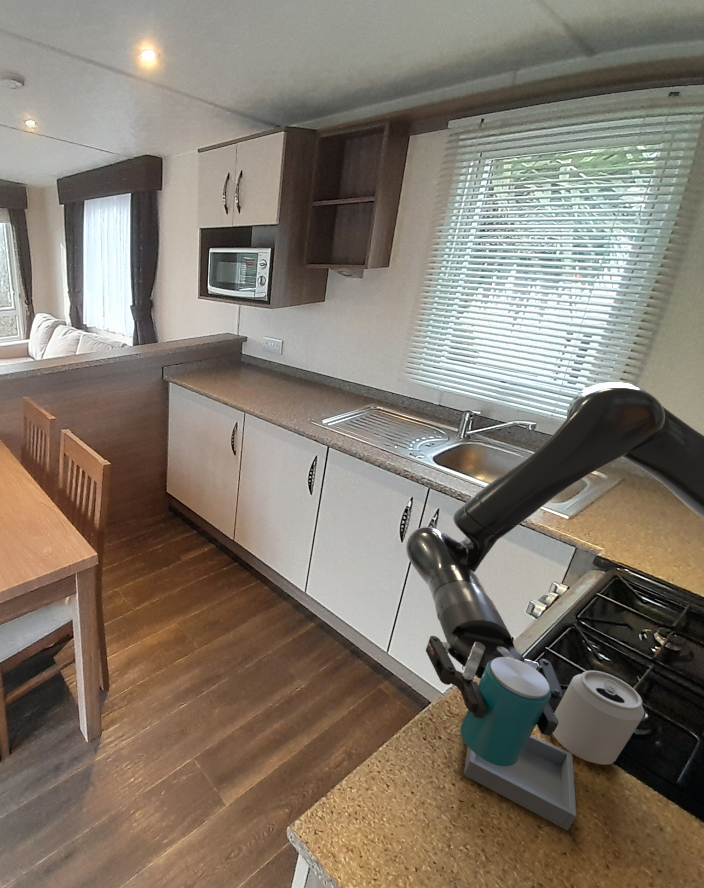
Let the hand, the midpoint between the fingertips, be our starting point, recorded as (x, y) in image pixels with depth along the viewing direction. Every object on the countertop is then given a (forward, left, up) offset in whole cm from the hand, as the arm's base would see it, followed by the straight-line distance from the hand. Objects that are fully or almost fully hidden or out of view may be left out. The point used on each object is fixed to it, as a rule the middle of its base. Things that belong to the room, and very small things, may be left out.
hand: (514, 721), depth 56 cm
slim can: (+1, -2, -7) cm, 8 cm away
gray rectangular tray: (-4, -11, -19) cm, 22 cm away
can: (-12, -22, -19) cm, 32 cm away
